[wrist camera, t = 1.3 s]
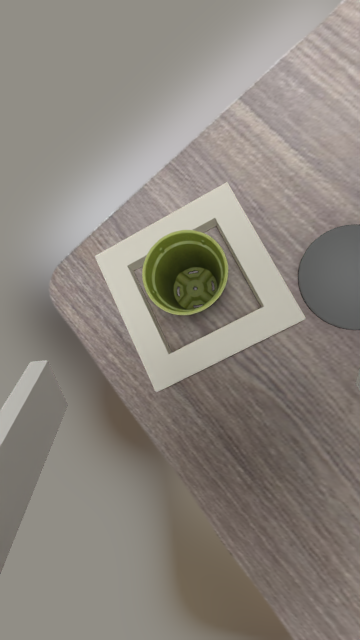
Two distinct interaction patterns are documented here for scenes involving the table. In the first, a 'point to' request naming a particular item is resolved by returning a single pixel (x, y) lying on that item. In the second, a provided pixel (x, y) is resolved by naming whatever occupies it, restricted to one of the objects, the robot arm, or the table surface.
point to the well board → (224, 342)
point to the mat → (333, 277)
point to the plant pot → (185, 272)
